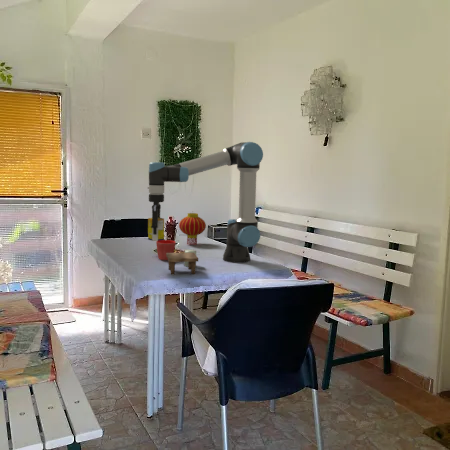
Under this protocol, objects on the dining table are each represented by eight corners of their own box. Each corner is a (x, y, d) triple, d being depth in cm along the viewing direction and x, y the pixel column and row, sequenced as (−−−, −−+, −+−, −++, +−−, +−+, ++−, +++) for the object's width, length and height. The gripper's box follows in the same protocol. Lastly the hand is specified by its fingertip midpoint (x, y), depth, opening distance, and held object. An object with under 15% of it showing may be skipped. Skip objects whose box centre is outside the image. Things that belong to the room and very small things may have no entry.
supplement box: (157, 238, 246) (158, 217, 244) (164, 240, 241) (164, 218, 240) (147, 239, 242) (147, 217, 240) (154, 241, 237) (154, 219, 236)
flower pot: (179, 258, 269) (179, 241, 267) (166, 261, 260) (166, 244, 258) (165, 255, 274) (165, 239, 273) (151, 258, 265) (152, 241, 264)
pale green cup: (195, 264, 256) (195, 249, 254) (196, 267, 250) (197, 251, 249) (183, 264, 254) (184, 249, 253) (185, 267, 248) (185, 252, 247)
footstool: (193, 268, 247) (193, 252, 246) (197, 274, 234) (198, 258, 233) (166, 268, 244) (166, 252, 243) (168, 275, 231) (169, 258, 230)
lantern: (210, 244, 317) (211, 198, 313) (196, 248, 302) (197, 200, 297) (187, 241, 325) (189, 196, 320) (173, 244, 309) (174, 198, 305)
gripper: (151, 192, 248) (151, 235, 252) (145, 195, 228) (145, 242, 231) (166, 192, 249) (165, 236, 252) (161, 195, 228) (161, 243, 231)
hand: (156, 239), depth 241 cm, fingers closed on supplement box, 8 cm apart
